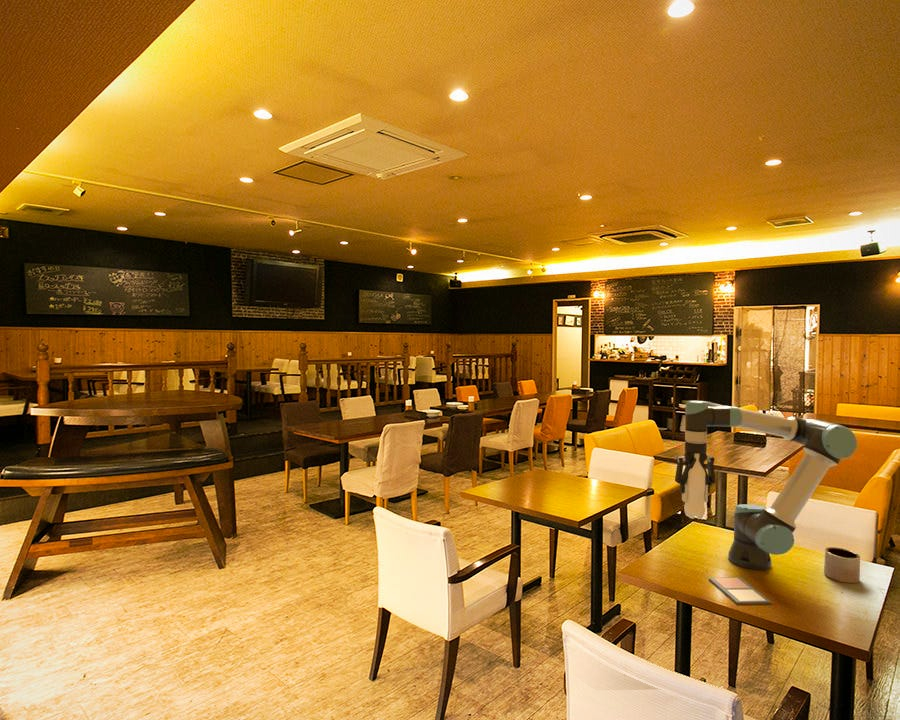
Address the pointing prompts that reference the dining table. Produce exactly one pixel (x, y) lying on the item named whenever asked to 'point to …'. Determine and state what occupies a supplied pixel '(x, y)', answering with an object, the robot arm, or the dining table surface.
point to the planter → (842, 565)
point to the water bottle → (695, 491)
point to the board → (739, 591)
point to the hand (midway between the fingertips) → (694, 501)
